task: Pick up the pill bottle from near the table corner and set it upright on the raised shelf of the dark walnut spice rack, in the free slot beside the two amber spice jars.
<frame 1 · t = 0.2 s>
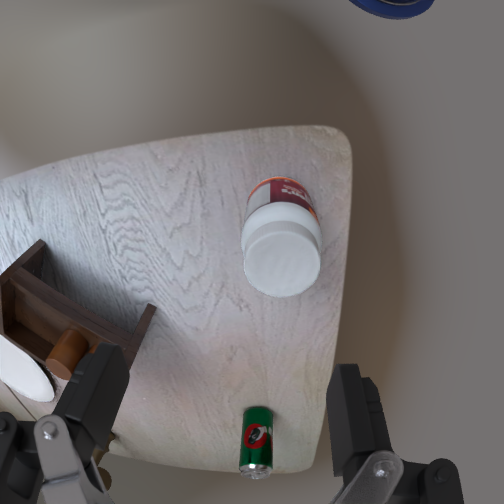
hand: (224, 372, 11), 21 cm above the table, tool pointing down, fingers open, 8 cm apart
plate: (11, 359, 49), on the table
soda can: (258, 412, 48), on the table
kendama: (106, 430, 59), on the table
pill bottle: (278, 204, 30), on the table
spice rack: (87, 298, 38), on the table
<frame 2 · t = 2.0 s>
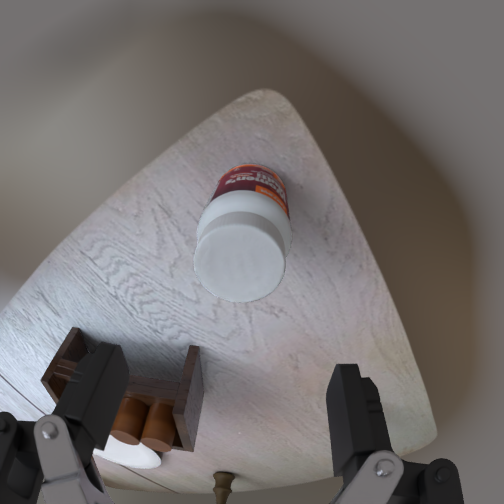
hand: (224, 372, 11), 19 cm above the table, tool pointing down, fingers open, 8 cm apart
plate: (110, 440, 56), on the table
kendama: (224, 473, 60), on the table
pill bottle: (250, 195, 27), on the table
spice rack: (137, 362, 39), on the table
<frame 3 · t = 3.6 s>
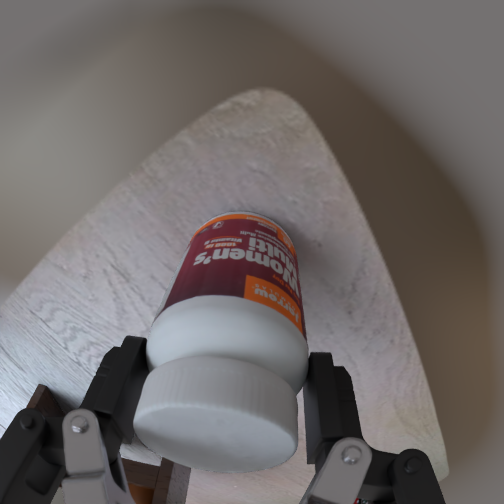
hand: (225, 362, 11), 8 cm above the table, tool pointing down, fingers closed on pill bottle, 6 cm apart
pill bottle: (241, 256, 18), on the table, touching gripper
spice rack: (114, 425, 30), on the table
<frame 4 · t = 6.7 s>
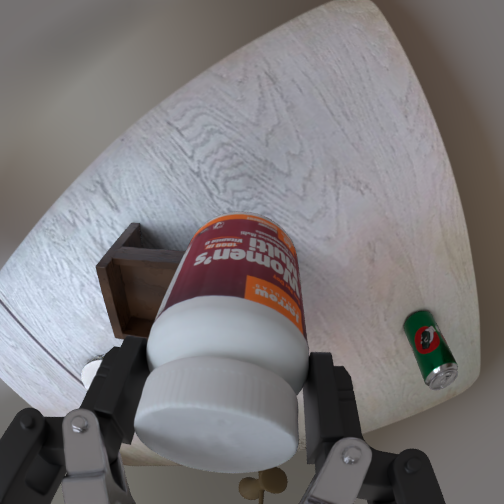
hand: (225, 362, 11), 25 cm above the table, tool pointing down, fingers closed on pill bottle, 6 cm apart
plate: (139, 393, 56), on the table
soda can: (416, 320, 43), on the table
kendama: (263, 428, 60), on the table
pill bottle: (242, 256, 18), point 17 cm above the table, touching gripper
spice rack: (203, 262, 39), on the table
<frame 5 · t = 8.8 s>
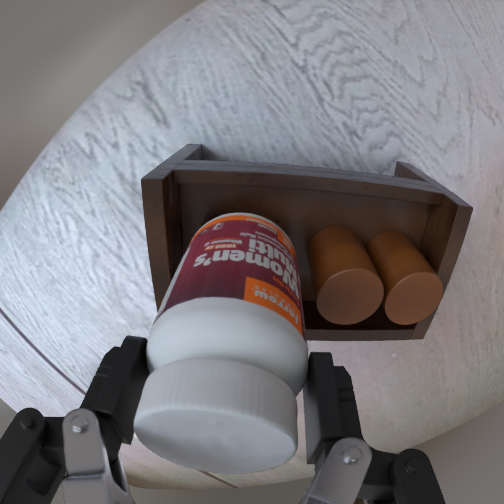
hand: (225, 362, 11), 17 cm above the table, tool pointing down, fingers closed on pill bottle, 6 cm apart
pill bottle: (241, 257, 18), point 9 cm above the table, touching gripper
spice rack: (297, 208, 26), on the table
when the fingers open (15 cm above the table, at t = 10.0 s): pill bottle stays where it is, resting on spice rack.
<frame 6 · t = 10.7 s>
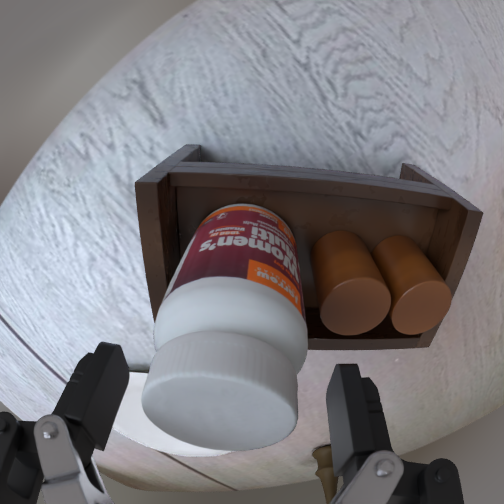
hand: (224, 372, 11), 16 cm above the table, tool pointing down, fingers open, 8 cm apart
plate: (168, 414, 41), on the table
kendama: (327, 448, 45), on the table
pill bottle: (244, 247, 19), point 7 cm above the table, touching spice rack
spice rack: (299, 211, 25), on the table
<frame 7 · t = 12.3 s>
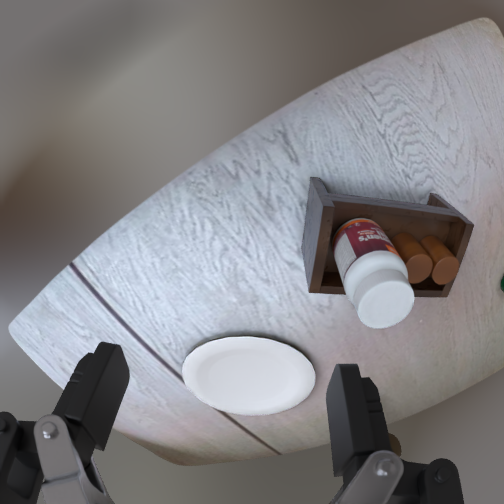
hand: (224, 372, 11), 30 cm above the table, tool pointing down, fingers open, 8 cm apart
plate: (248, 375, 56), on the table
pill bottle: (357, 240, 34), point 7 cm above the table, touching spice rack
spice rack: (372, 220, 40), on the table
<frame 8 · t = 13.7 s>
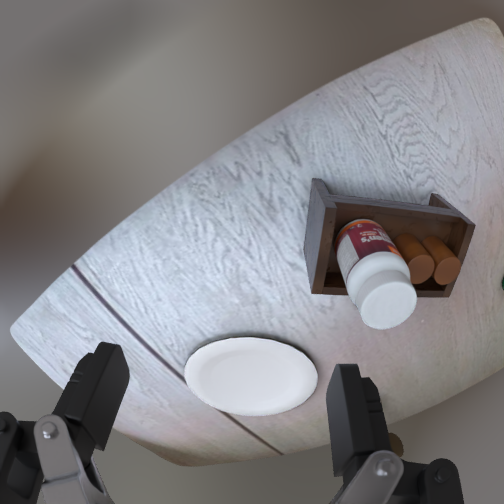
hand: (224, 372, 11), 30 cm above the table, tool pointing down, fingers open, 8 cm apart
plate: (251, 376, 56), on the table
pill bottle: (359, 241, 34), point 7 cm above the table, touching spice rack
spice rack: (373, 220, 40), on the table
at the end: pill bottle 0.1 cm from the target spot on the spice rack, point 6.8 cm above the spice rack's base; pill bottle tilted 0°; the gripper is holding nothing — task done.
